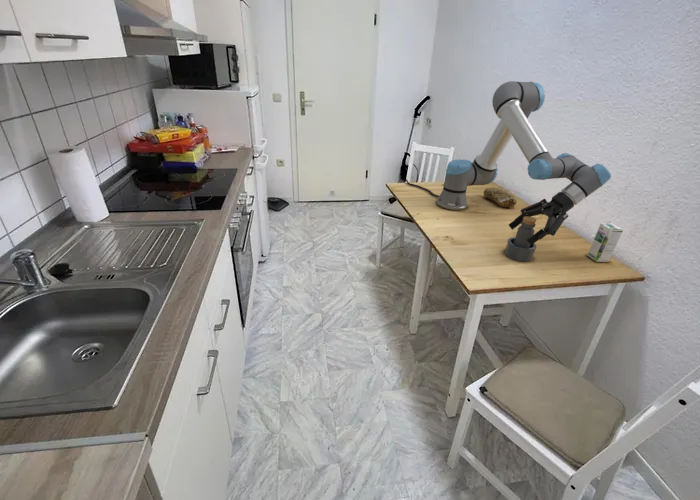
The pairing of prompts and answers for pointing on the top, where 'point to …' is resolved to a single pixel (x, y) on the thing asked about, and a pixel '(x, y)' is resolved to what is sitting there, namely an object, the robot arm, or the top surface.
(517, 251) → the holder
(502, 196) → the bread loaf
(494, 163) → the robot arm
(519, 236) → the bottle
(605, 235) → the syrup box
